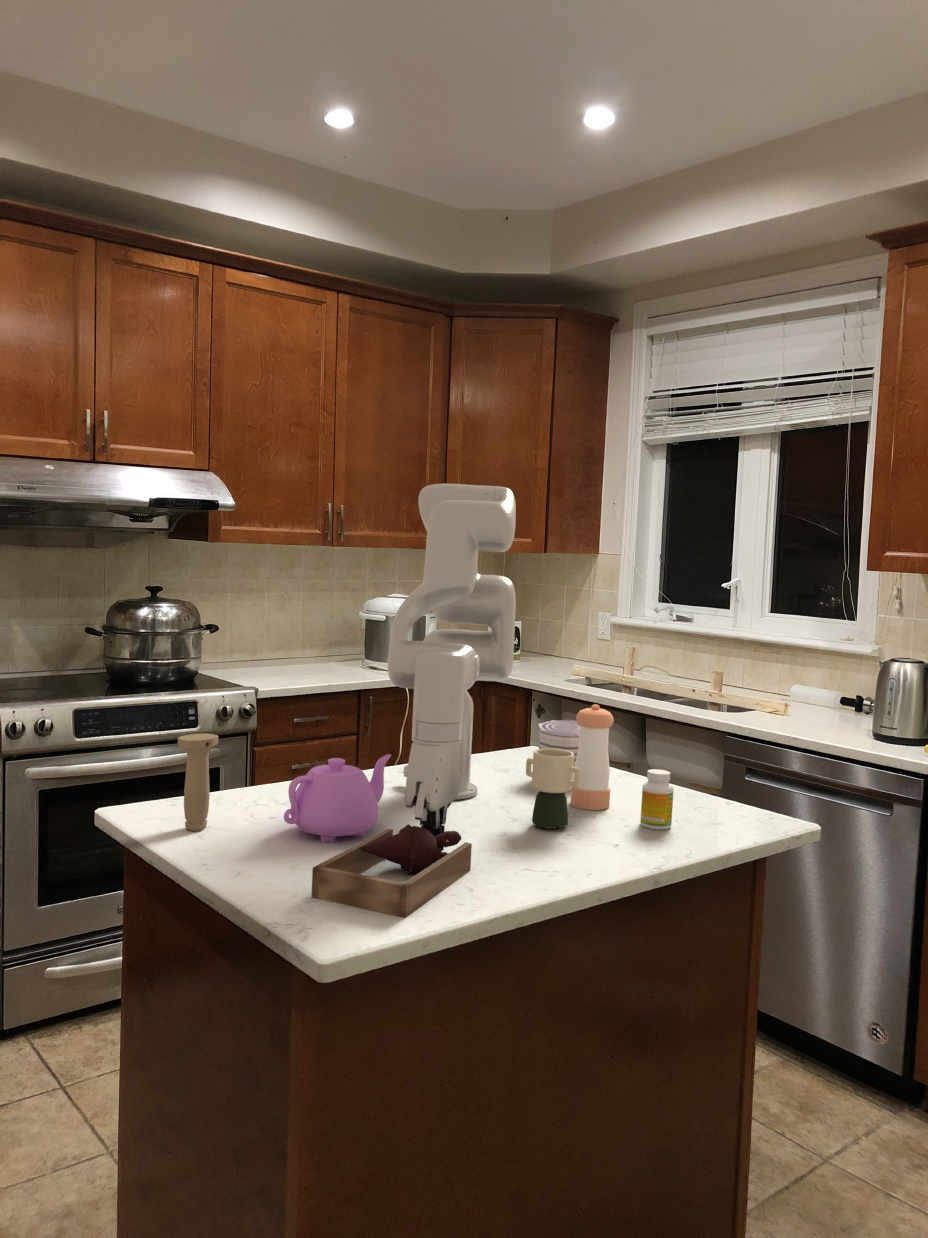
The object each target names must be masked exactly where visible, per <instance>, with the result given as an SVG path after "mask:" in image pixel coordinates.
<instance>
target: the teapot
mask: <svg viewBox="0 0 928 1238" xmlns="http://www.w3.org/2000/svg"><path fill="white" fill-rule="evenodd" d="M391 756H392V754H391V753H389V754H385V755H383V756H381V757H380V758H378V760H377V761H376V763H375V765H374V768H373V771H372V776H371V778H370V781H369V779H368V778H367V775H366V774H365V773H364V771H363V770H362V769H361V768H359V767H357V766H353V765H347V764H346V759H344V758H340V757H332V758H328V759H327V763H328V764H322V765H321V764H320V765H316V766H313V767H312V768H311V769H310V770H309V771H308V772H307V773H306V774H305V775H300V776H297V777H295V778H293V780H291V782H289V785H288V789H287V790H288V791H287V792H288V799H289V803H290V808H288V809H286V810H285V811H284V813H283V820H284V821H285V822H286V823H287V824H289V825H294V824H295V825H296V826H297V827H298V829H299V830H301V832H302V833H305V834H311V835H315V836H321V837H320V838H319V839H320V840H319V841H320V842H322V843H326V844H327V843H330V844H331V843H334V842H335V841H336V837H346V836H351V837H355V838H361V837H363V838H364V837H366V836H367V834H366V831H368V830H369V829H370V828H371V827H372V826H373V824H375V823H376V821H377V820H378V818H379V804H378V803H379V802H380V801H381V799H382V797H383V794H384V789H385V787H384V786H385V780H384V779H385V776H384V775H385V773H384V772H385V766H386V764H387V762H388V761H389V759H390V758H391Z"/></svg>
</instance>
